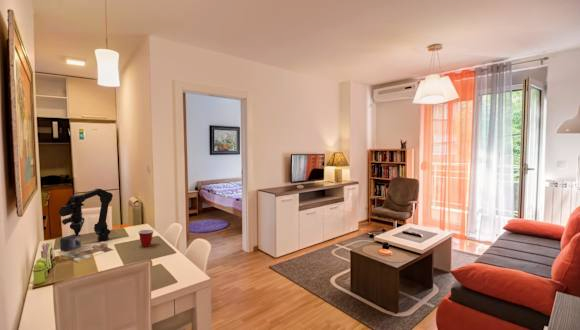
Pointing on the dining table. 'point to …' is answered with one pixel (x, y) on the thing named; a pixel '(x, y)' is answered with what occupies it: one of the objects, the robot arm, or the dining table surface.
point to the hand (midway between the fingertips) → (78, 234)
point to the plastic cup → (146, 237)
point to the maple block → (100, 246)
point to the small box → (70, 242)
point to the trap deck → (84, 254)
